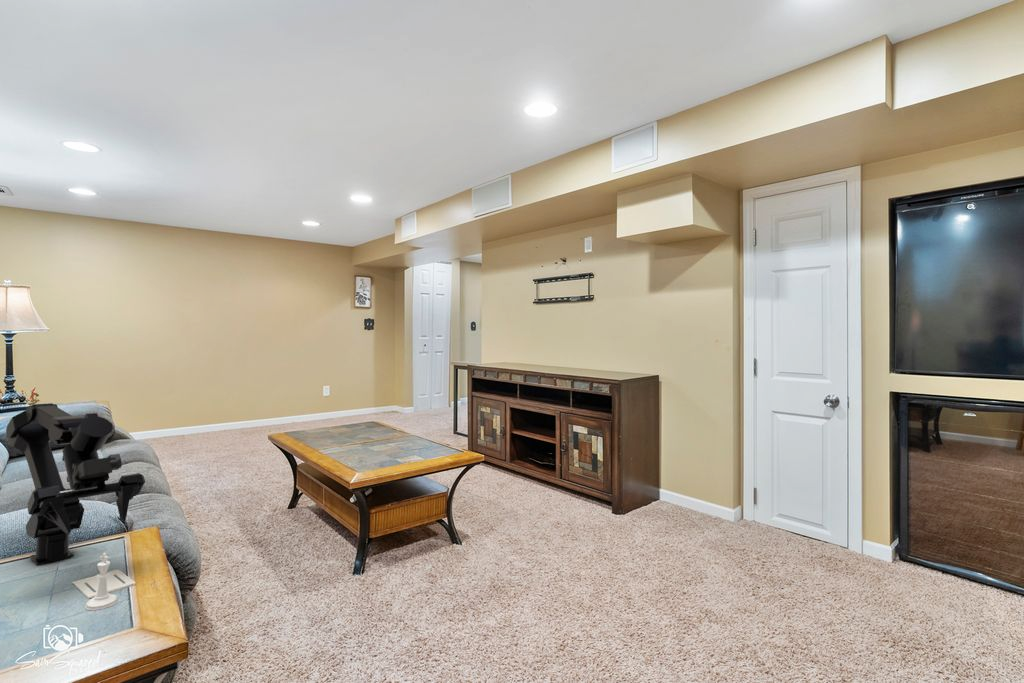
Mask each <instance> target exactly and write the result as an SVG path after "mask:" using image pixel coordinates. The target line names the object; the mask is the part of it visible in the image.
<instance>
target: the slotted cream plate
mask: <svg viewBox="0 0 1024 683" xmlns="http://www.w3.org/2000/svg"><path fill="white" fill-rule="evenodd" d="M107 572H108V573H110V576H108V577H106V584H107V592H108V593H109V594H111V593H113V592H116V591H120V590H123V589H126V588H129V587H132V586H136V584H137V583H136V582H135V581H134V580H133V579H131V578H130V577H129V576H127V575H126V574H125V573H124V572H122V571H121V570H120V569H115V570H111V571H107ZM97 575H98V574H96V575H94V576H90V577H86V578H82V579H78V580H76V581H72V583H73V584H74V585H75V586H76V587H77V588H78V589H79V590H80V591H81V592H82V593H83V594H84V595H85V596H86V597H85V596H84V595H83V594H82V595H83V596H84V597H85V598H87V600H90V598H91V599H92V598H94V597H95V596H96V595H97V592H98V587H99V581H100V579H98V578H96V576H97ZM72 583H71V584H72ZM73 584H72V585H73ZM74 585H73V586H74ZM75 586H74V587H75ZM76 587H75V588H76ZM77 588H76V589H77ZM78 589H77V590H78ZM79 590H78V591H79ZM80 591H79V592H80ZM81 592H80V593H81Z"/></svg>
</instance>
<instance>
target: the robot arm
mask: <svg viewBox="0 0 1024 683" xmlns="http://www.w3.org/2000/svg"><path fill="white" fill-rule="evenodd" d="M113 428H114V426H113V423H112V422H111V421H109V420H108V419H107V418H105V417H102V416H99V415H98V412H95V413H94V412H93V413H85V415H72V414H70V413H68V412H66V411H64V410H62V409H61V408H60V407H58V404H57V403H56V404H55V403H50V402H48V403H33V404H31V405H28V406H27V407H26V409H25V410H24V411H22V412H20V413H18V414H16V415H13V417H11V418H10V420H9V422H8V424H7V426H6V429H5V433H6V438H8V439H9V441H10V444H11V445H12V447H13V448H15V449H16V450H18V451H20V452H22V453H23V454H24V456H25V459H26V462H27V465H28V469H29V472H30V475H31V478H32V482H33V485H34V488H35V489H34V490H33V491H32V493H31V495H30V497H29V498H28V499H29V500H28V502H27V511H28V512H27V513H28V515H30V517H29V519H28V520H27V523H26V524H25V532H26V533H25V534H26V535H27V536H29V537H30V538H32V539H36V544H35V553H34V554H32V555H30V556H29V558H30V560H31V561H32V562H33V563H34V564H35V565H37V566H40V565H44V564H48V563H52V562H58V561H60V560H61V561H62V560H65V559H69V558H72V557H74V552H72V551H71V550H70V549H69V546H70V545H69V544H70V534H71V532H72V531H71V530H77V529H80V528H81V525H82V521H83V517H84V512H85V508H84V506H83V504H82V503H81V502H80V499H81V498H82V499H83V498H89V497H94V496H100V495H106V494H112V493H115V496H116V497H117V498H116V500H115V503H116V507H117V510H118V514H119V519H120V521H121V522H122V523H125V522H126V520H127V516H128V511H129V504H130V501H131V500H132V499H134V497H136V496H138V495H139V494H140V492H141V490H142V489H143V488H144V487H143V486H144V485H145V483H146V480H145V476H144V475H143V474H142V473H139V472H137V473H131V474H124V475H121V476H120V478H119V480H118V482H113V483H108V484H106V482H107V481H109V479H110V475H109V474H112V473H113V471H117V470H119V469H121V468H122V466H123V464H122V463H123V462H122V458H121V455H120V453H115V454H109V455H108V456H107V457H102V458H101V457H100V458H99V453H98V451H100V450H101V449H102V448H103V446H104V445H105V443H106V442H107V440H108V438H109V436H110V435H111V433H112V431H113ZM50 442H52V443H53V444H54V445H56V446H57V445H59V446H60V445H65V446H64V448H63V449H62V452H61V453H62V459H61V460H62V461H63V462H64V467H65V470H66V475H67V476H66V482H67V483H69V484H68V485H69V488H65V486H64V484H63V481H62V479H61V474H60V473H59V469H58V466H57V464H56V463H57V462H56V461H55V457H54V454H53V451H52V448H51V445H50Z"/></svg>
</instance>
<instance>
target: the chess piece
mask: <svg viewBox="0 0 1024 683" xmlns="http://www.w3.org/2000/svg"><path fill="white" fill-rule="evenodd" d="M99 559H100V560H102V561H100V562H98V563H97V568H98V569H97V570H98V572H99V573H98V574H96V575H97V576H96V575H95V576H96V578H98V579H100V581H99V587H98V592H97V595H96V596H95V597H94V598H91V599H88V601H87V602H86V603H85V606H84V607H85V609H86V610H88V611H100V610H103V609H108V608H110V607H111V606H114V605H116V603H118V596H117V595H115V594H111V593H108V592H107V584H106V577H108V576H110V573H108V572H109V571H108V570H109V568H110V565H111V561H109V559H110V557H109V556H107V552H103V553H102V555H100V556H99Z"/></svg>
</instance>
